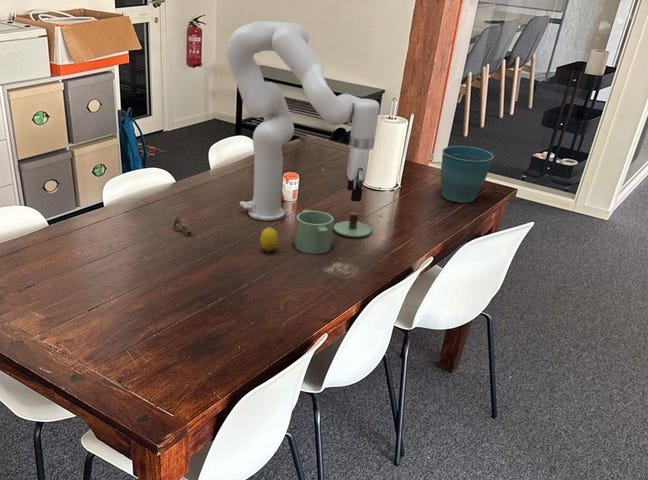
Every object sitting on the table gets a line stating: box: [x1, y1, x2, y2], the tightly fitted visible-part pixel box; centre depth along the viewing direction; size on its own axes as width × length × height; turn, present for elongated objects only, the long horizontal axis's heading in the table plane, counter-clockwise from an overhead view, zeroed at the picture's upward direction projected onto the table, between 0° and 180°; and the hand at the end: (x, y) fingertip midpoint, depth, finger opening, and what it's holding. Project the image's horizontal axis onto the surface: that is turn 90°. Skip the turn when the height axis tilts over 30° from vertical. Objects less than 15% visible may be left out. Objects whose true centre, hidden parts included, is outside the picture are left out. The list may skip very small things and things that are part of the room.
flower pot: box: [440, 145, 495, 204], centre depth 252 cm, size 18×18×17 cm
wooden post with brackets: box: [172, 215, 192, 237], centre depth 220 cm, size 2×8×4 cm, turn 44°
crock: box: [294, 209, 335, 255], centre depth 212 cm, size 11×17×10 cm
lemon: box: [259, 226, 279, 253], centre depth 208 cm, size 6×6×8 cm
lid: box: [333, 211, 372, 238], centre depth 224 cm, size 12×12×6 cm
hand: (353, 195), depth 219 cm, fingers open, 9 cm apart
